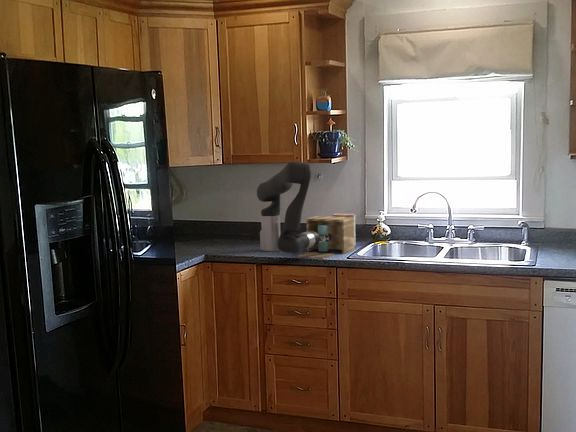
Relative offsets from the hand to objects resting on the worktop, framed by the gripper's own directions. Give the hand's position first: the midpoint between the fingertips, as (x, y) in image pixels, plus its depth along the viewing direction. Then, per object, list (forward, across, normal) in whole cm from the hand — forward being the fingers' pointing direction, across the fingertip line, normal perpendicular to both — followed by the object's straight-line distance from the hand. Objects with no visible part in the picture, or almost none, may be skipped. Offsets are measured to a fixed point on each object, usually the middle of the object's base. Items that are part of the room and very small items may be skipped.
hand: (325, 235), depth 338 cm
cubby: (+5, 0, +8) cm, 10 cm away
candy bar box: (+20, 0, +8) cm, 22 cm away
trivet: (-10, 0, +8) cm, 13 cm away
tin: (-2, 0, +7) cm, 7 cm away
